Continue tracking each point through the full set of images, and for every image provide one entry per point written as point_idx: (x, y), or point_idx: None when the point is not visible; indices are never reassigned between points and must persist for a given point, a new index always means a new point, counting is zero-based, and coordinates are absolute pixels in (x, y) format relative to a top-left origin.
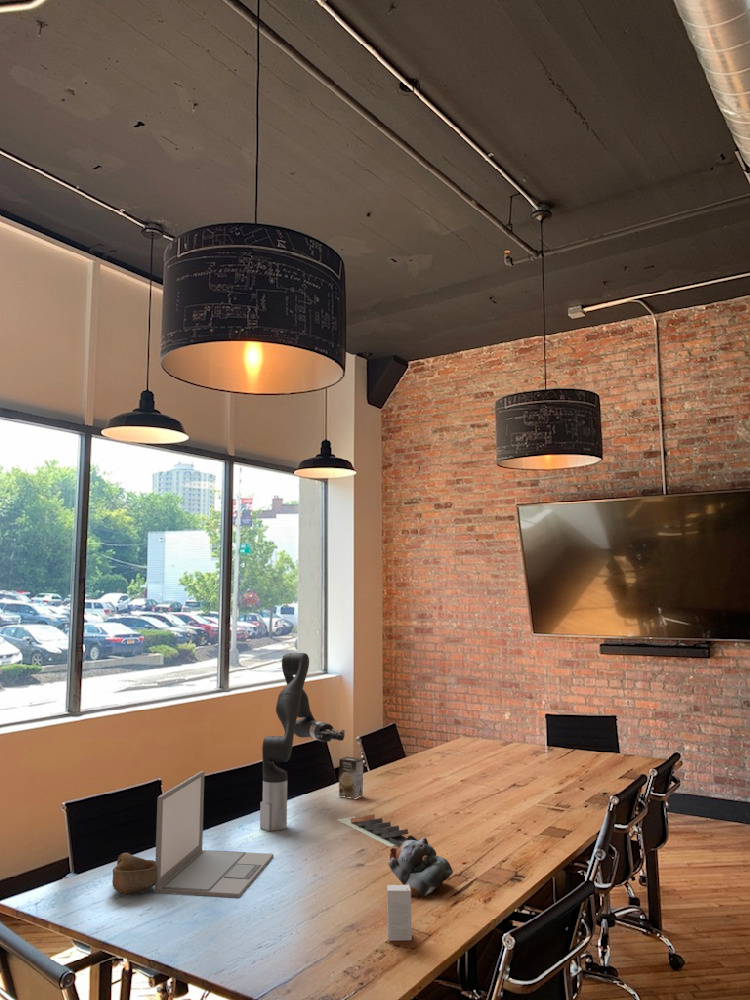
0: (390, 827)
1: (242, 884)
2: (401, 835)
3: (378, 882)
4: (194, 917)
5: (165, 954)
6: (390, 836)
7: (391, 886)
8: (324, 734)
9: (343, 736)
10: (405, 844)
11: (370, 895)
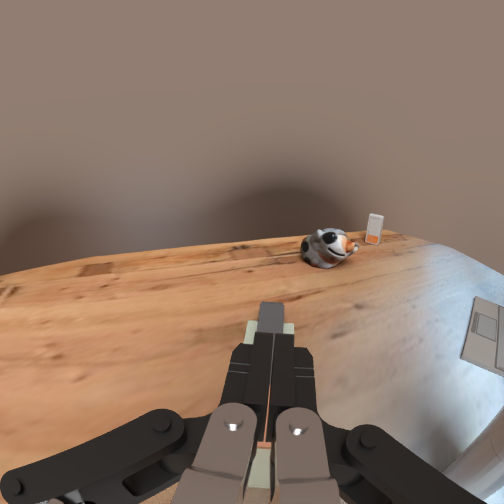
0: (275, 322)
1: (477, 306)
2: None
3: (357, 278)
4: (493, 289)
5: (490, 270)
6: None
7: (380, 216)
8: (432, 478)
9: (242, 349)
10: (342, 231)
11: (372, 269)
